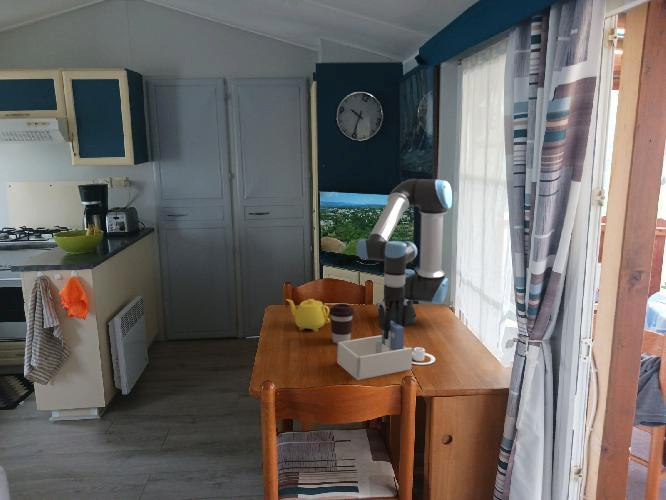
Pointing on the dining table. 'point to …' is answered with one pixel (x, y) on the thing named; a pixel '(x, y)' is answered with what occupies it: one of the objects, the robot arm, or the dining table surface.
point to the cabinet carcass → (372, 358)
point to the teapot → (310, 314)
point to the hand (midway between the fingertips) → (392, 346)
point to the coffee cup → (341, 322)
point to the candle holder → (421, 356)
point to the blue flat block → (395, 336)
